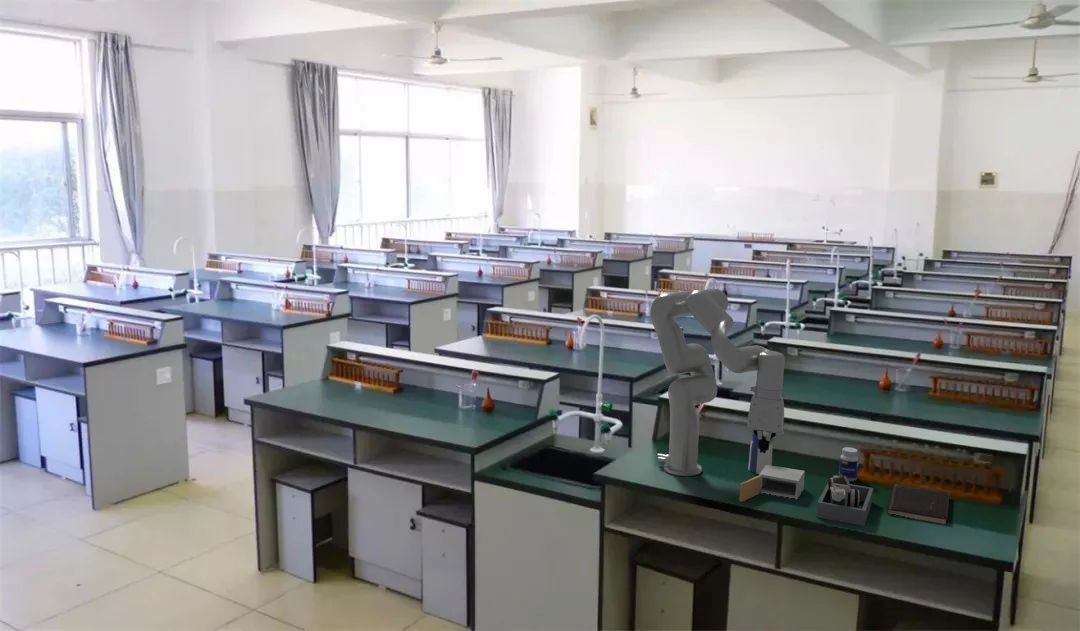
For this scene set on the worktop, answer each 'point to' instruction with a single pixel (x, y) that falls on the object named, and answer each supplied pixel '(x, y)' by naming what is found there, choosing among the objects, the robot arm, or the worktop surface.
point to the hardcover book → (919, 503)
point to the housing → (782, 481)
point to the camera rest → (846, 507)
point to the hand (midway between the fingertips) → (763, 451)
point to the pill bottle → (849, 463)
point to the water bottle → (759, 455)
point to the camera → (842, 492)
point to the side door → (750, 488)
